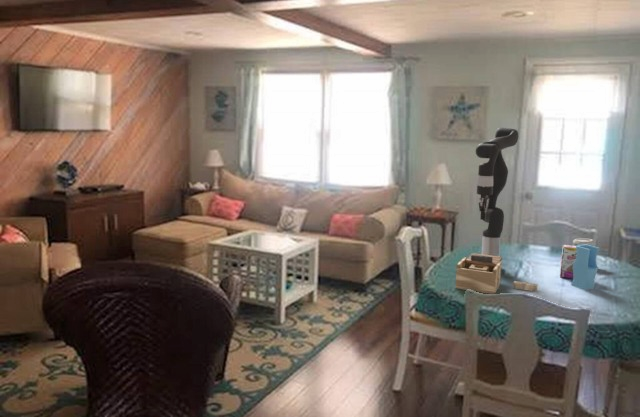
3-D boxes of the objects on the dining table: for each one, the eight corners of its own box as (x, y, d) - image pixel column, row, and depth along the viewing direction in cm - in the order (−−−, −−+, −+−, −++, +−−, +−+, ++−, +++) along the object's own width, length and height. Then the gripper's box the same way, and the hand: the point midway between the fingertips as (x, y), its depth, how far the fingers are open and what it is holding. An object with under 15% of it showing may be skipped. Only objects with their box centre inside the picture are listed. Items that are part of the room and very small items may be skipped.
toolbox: (463, 279, 276) (464, 257, 274) (499, 285, 268) (501, 262, 266) (455, 288, 263) (456, 264, 261) (494, 294, 255) (495, 269, 252)
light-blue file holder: (585, 290, 262) (589, 249, 258) (570, 285, 269) (574, 245, 265) (595, 287, 265) (600, 247, 262) (581, 283, 272) (585, 244, 269)
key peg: (537, 290, 262) (514, 287, 266) (537, 284, 261) (514, 281, 266) (536, 292, 259) (513, 288, 264) (537, 286, 259) (513, 282, 263)
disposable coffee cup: (570, 266, 300) (573, 240, 298) (570, 262, 310) (572, 236, 307) (592, 269, 296) (595, 242, 294) (590, 264, 306) (593, 238, 303)
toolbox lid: (472, 255, 283) (473, 248, 282) (502, 259, 276) (502, 252, 276) (465, 262, 270) (466, 255, 269) (496, 266, 263) (497, 259, 263)
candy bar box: (560, 277, 281) (563, 246, 278) (559, 275, 285) (562, 244, 282) (584, 280, 277) (587, 248, 274) (583, 277, 282) (586, 246, 279)
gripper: (480, 182, 275) (478, 216, 279) (474, 185, 264) (472, 221, 267) (495, 183, 272) (493, 217, 275) (490, 186, 260) (487, 222, 264)
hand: (482, 219), depth 271 cm, fingers closed
